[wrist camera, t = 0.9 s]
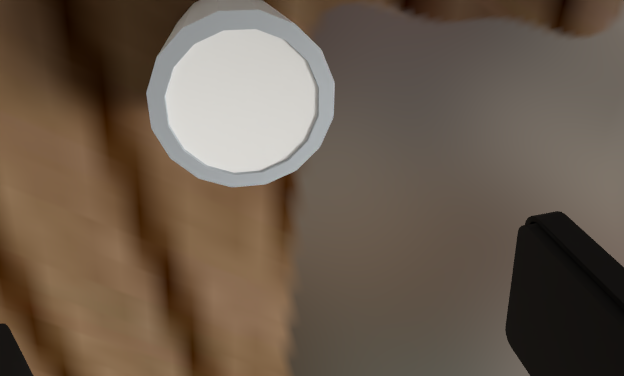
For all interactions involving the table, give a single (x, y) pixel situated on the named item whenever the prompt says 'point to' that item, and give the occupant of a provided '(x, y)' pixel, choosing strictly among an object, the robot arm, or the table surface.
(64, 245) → the table surface
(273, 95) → the white cup
